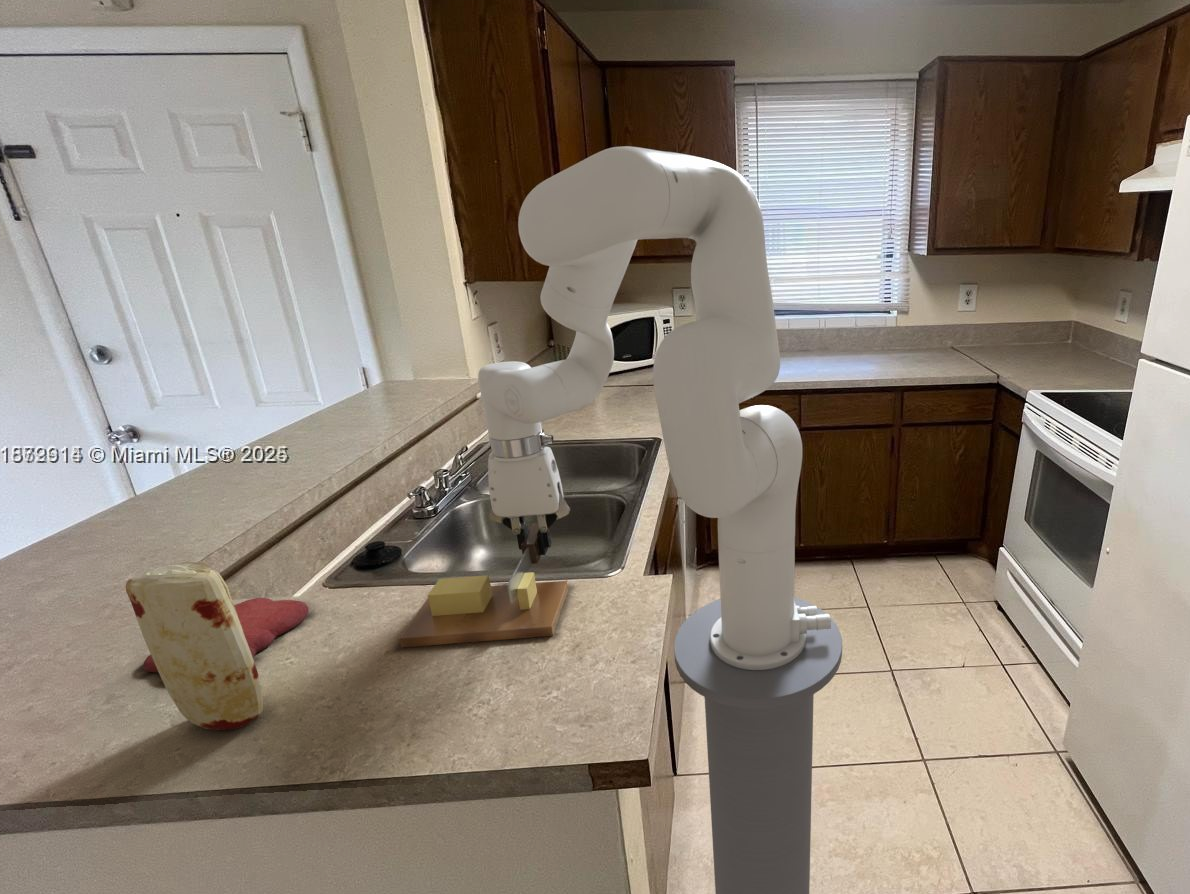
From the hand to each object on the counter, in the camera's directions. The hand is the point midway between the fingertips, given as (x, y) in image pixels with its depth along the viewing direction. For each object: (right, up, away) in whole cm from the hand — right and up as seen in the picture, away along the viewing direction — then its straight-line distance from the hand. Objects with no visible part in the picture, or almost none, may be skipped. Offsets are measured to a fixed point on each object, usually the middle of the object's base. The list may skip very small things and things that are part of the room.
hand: (536, 551), depth 99 cm
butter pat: (+2, -6, -8) cm, 11 cm away
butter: (-7, -7, -9) cm, 14 cm away
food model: (-25, -15, -28) cm, 40 cm away
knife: (+1, -2, -5) cm, 5 cm away
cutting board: (-3, -8, -9) cm, 13 cm away
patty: (-37, -10, -14) cm, 41 cm away
